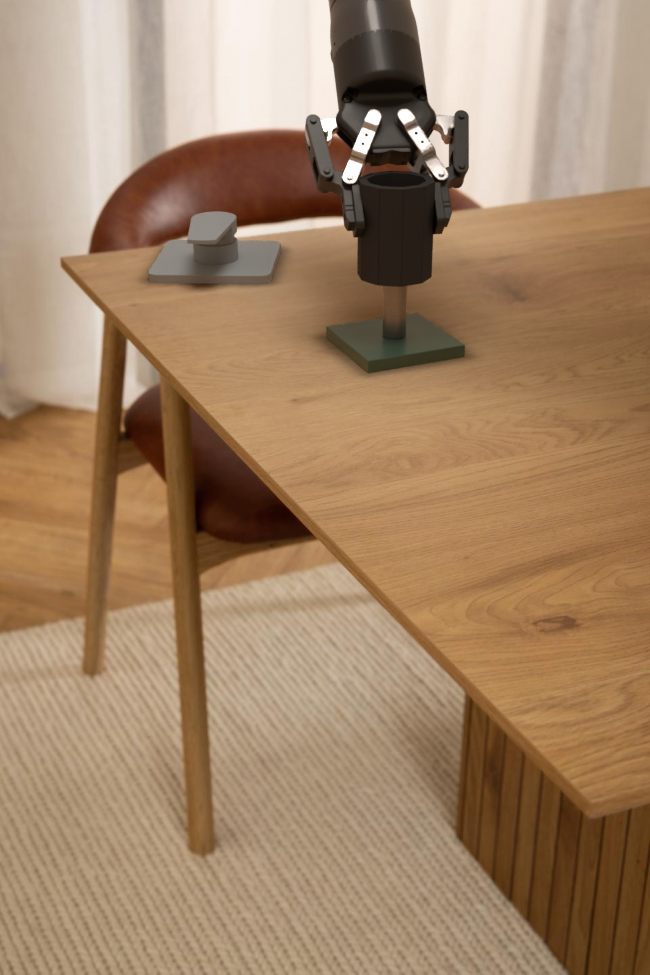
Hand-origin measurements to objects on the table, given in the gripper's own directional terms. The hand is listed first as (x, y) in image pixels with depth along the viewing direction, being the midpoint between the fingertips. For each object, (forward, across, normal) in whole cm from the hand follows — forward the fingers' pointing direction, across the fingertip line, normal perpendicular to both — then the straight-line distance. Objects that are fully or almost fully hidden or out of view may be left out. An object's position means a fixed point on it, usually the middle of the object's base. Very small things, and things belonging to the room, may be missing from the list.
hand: (399, 230), depth 96 cm
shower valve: (-11, -14, +27) cm, 32 cm away
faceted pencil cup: (+2, 0, +4) cm, 5 cm away
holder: (+6, 0, +9) cm, 11 cm away
